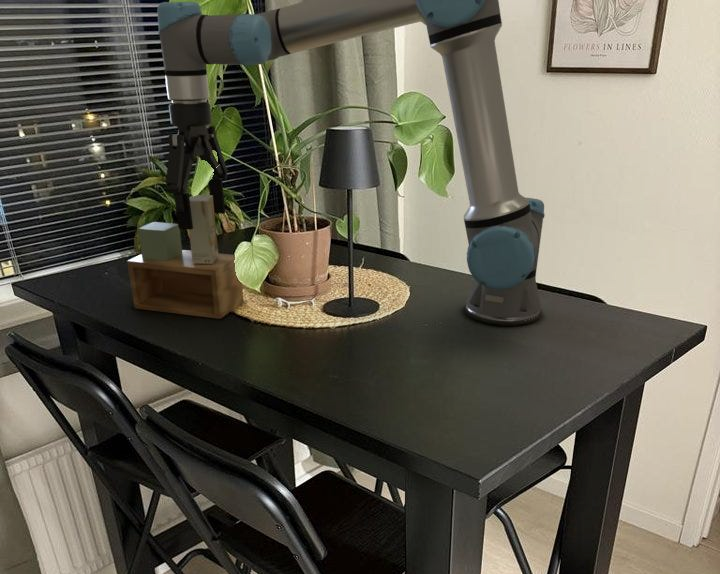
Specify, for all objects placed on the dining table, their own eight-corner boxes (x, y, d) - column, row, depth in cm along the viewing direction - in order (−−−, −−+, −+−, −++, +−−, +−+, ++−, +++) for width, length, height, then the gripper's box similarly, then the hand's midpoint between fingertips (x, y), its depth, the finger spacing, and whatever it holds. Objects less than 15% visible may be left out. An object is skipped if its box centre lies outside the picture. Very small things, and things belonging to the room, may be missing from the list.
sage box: (157, 250, 160) (153, 221, 156) (182, 253, 158) (179, 223, 155) (142, 258, 155) (137, 228, 152) (167, 261, 153) (163, 230, 150)
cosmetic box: (213, 264, 151) (207, 201, 145) (192, 264, 151) (184, 201, 145) (219, 255, 157) (213, 194, 150) (198, 255, 157) (191, 193, 150)
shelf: (161, 292, 167) (155, 246, 162) (243, 301, 162) (239, 255, 157) (134, 308, 159) (126, 260, 153) (220, 319, 153) (215, 270, 148)
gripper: (203, 94, 149) (214, 205, 161) (133, 108, 129) (153, 234, 140) (237, 95, 147) (247, 208, 159) (172, 109, 127) (188, 237, 138)
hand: (202, 220), depth 150 cm, fingers open, 13 cm apart
